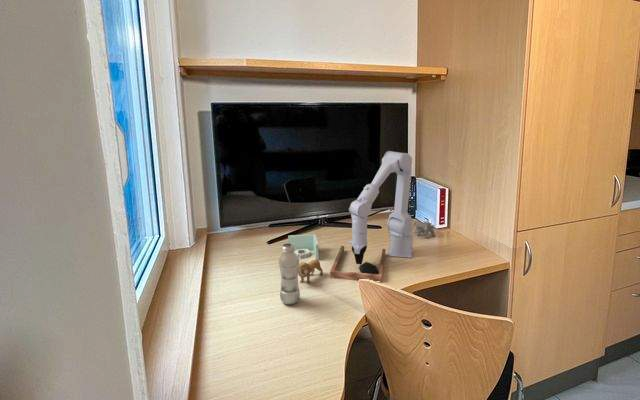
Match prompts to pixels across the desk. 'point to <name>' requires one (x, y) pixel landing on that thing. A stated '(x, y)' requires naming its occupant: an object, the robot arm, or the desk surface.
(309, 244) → the l-shaped corner panel
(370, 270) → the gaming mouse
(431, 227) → the gray elephant figurine
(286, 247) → the plastic bottle
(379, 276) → the u-shaped frame
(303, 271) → the lion figurine
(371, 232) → the desk surface
